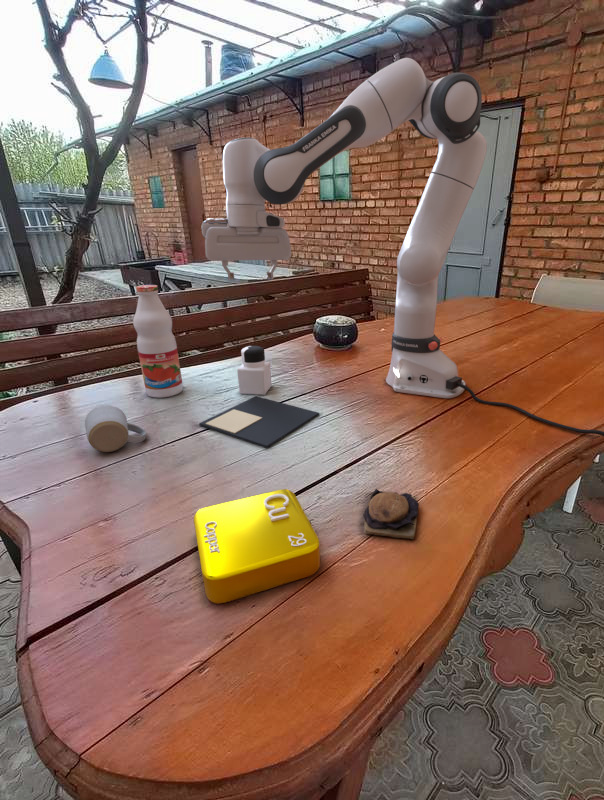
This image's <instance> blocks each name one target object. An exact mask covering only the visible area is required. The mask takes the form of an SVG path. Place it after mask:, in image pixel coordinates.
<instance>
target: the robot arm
mask: <svg viewBox="0 0 604 800" xmlns="http://www.w3.org/2000/svg"><path fill="white" fill-rule="evenodd" d="M482 96H483V95H482V89H481V86H480V84H479V82H478V81H477V79H476V78H474V77H473V76H472V75H471V74H468V73H465V72H452V73H449V74H447V75H445V76H443V77H440V78H438V79H436V80H433V81H432V80H430V79H429V78H427V77H426V74H425V72H424V70H423V68H422V66H421V65H420V64H419V63H418V62H417V61H416V60H415V59H413V58H411V57H410V58H409V57H403V58H400V59H398V60H396V61H394V62H392V63H390V64H389V65H386V66H385V67H383V68H381V69H380V70H378V71H377V72H375V73H374V74H373V75H371V76H370V77H368V78H367V79H366V80H364V81H363V82H362V83H361V84H360V85H358V86H357V87H356V88H355V89H354V90H353V91H352V92H351V93H350V94H349V95H348V96H347V97H346V98H345V99H344V100H343V101H342V102H341V103H340V105H339V106H338V107H337V108H336V109H335V110H334V111H333V113H332V114H331V115H330V116H329V117H328V118H327V119H326V120H324V121H323V122H322V123H320V124H319V125H318V126H316V127H315V128H313V130H311V131H310V132H308V133H306V134H305V135H304V136H303V137H301V138H299V140H297V141H296V142H294V143H293V144H290V145H288V146H284V147H279V148H278V147H277V148H273V149H272V148H271V149H270V148H268V147H267V146H265V145H263V144H262V143H261V142H260V141H258V139H257V138H254V137H239V138H235V139H232V140H230V141H228V142H227V143H226V144H225V146H224V148H223V152H222V173H223V174H222V175H223V184H224V187H225V190H226V200H225V208H226V209H225V211H226V218H212V217H211V218H207V219H206V220H204V221H203V222H202V223H201V235H202V237H203V238H204V239H205V241H204V243H205V244H204V248H205V258H206V259H207V260H208V261H209V262H211V261H212V262H216V261H217V262H219V261H221V264H222V265H221V266H222V268H223V270H225V273H227V280H228V281H235V272H234V271H231V270H230V268H229V267H228V266H229V261H231V262H232V261H270V265H272V266H271V268H270V270H269V271H266V279H267V280H274V272H275V270H276V269H277V267H278V261H288V260H291V259H290V258H291V257H292V247H291V241H290V236H289V233H288V232H287V230H286V229H285V228H284V227H285V225H286V224H285V223H286V222H285V219H284V218H283V217H281V216H280V215H276V214H274V213H272V212H267V211H266V201H267V202H268V203H271V204H272V205H288V204H292V203H294V202H296V201H297V200H298V199H299V197H300V196H301V195H302V193H303V191H304V188H305V182H306V181H307V179H308V178H309V177H310V176H311V175H312V174H313V173H314V172H316V171H317V170H318V169H320V168H321V167H323V166H325V164H327V163H328V162H329V161H331V160H332V159H334V158H335V157H336V156H338V155H339V154H341V153H342V152H344V151H347V150H350V149H364V148H367V147H369V146H372V145H373V144H375V143H377V142H379V141H381V140H383V139H384V138H385V137H387V136H388V135H390V134H391V133H392V132H393V131H395V130H396V129H398V128H399V127H400V126H401V125H403V124H405V123H407V122H409V123H410V124H411V125H412V126H413V127H414V128H415V130H416V131H417V132H418V133H419V134H420V135H421V136H423V137H424V138H427V139H431V140H435V139H436V140H437V143H438V150H437V156H436V160H435V162H434V164H433V167H432V169H431V172H430V174H429V177H428V179H427V182H426V184H425V187H424V189H423V191H422V194H421V197H420V199H419V202H418V205H417V206H416V207H417V208H416V210H415V212H414V214H413V217H412V220H411V222H410V224H409V226H408V229H407V232H406V235H405V237H404V240H403V243H402V244H401V248H400V249H399V253H398V255H397V258H396V268H397V269H396V270H397V277H396V293H395V305H394V307H395V308H394V321H393V323H394V325H393V333H391V334H392V335H391V359H390V364H389V369H388V373H387V375H386V377H385V382H386V384H387V385H389V386H390V387H391V388H392V389H393V391H394V392H396V393H402V394H411V395H418V396H426V397H433V398H441V399H453V398H456V397H458V396H460V395H461V394H462V393H464V391H466V392H468V393H469V394H470V396H471V397H472V399H473V400H474V401H476V402H477V403H480V404H484V405H489V406H497V407H504V408H508V409H509V408H510V409H513V410H515V411H517V412H519V413H520V414H523V415H525V416H527V417H529V418H531V419H533V420H536V421H538V422H540V423H543V424H545V425H549V426H552V427H555V428H559V429H562V430H566V431H570V432H573V433H577V434H588V435H590V434H591V435H599V436H602V437H604V431H603V430H600V429H583V428H582V429H581V428H577V427H573V426H569V425H566V424H565V425H564V424H562V423H559V422H555V421H552V420H548V419H546V418H543V417H540V416H538V415H535V414H533V413H532V412H529V411H527V410H525V409H523V408H522V407H518V406H516V405H514V404H511V403H508V402H507V403H506V402H500V401H488V400H484V399H481V398H479V397H478V396H477V395H476V394H475V392H474V391H473V390H472V389H471V388H470V387H468V386H467V385H466V382H465V380H463V377H461V376H459V369H458V366H457V363H456V362H454V361H453V360H452V359H451V358H450V357H449V356H447V354H445V353H444V351H443V350H441V349H440V348H441V343H442V342H443V337H440V338H439V337H438V336H437V335H435V327H436V317H437V316H436V315H437V306H438V287H439V286H438V285H439V274H440V273H441V270H442V269H443V268H442V267H443V265H444V262H445V260H446V258H447V255H448V253H449V250H450V248H451V246H452V243H453V240H454V238H455V235H456V232H457V229H458V227H459V224H460V222H461V219H462V217H463V215H464V213H465V211H466V208H467V206H468V204H469V201H470V199H471V197H472V195H473V192H474V190H475V188H476V185H477V183H478V181H479V178H480V175H481V171H482V169H483V166H484V162H485V158H486V155H487V150H488V143H487V140H486V138H485V136H484V135H483V134H482V133H481V132H480V131H479V128H480V125H481V111H482V104H483V97H482Z"/></svg>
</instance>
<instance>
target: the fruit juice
mask: <svg viewBox="0 0 604 800" xmlns="http://www.w3.org/2000/svg"><path fill="white" fill-rule="evenodd" d="M135 292H136V293H137V294H138V298H137V305H136V310H135V313H134V315H133V319H132V323H133V328H134V330H135V332H136V334H137V338H136V349H137V353H138V358H139V363H140V368H141V374H142V379H143V383H144V389H145V393H146V394H147V396H148V397H151V398H156V399H157V398H161V399H162V398H168V397H173V396H176V395H178V394H180V393H181V392H182V391H183V389H184V383H183V378H182V371H181V365H180V359H179V352H178V345H177V340H176V336H175V335H174V334H173V318H172V317H171V314H170V313H169V312H168V311H167V309H166V308H165V306H164V304H163V302H162V300H161V298H160V296H159V294H158V293H159V287H158V285H156V284H143V285H141V284H140V285H137V286H136V287H135Z"/></svg>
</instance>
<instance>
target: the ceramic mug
mask: <svg viewBox="0 0 604 800" xmlns="http://www.w3.org/2000/svg"><path fill="white" fill-rule="evenodd" d="M84 425H85V431H86V438H87V441H88V443H89V445H90V446H91V447H92V448H93V449H94V450H96V451H98V452H102V453H112V452H115V451H118V450H120V449H121V448H123V447H124V446H125V444H126V443H142V442H143V441H145V440H146V436H147V430H146V429H144V428H143V427H141V426H140V425H136V424H134V423H129V422H128V419H127V416H126V414H125V412H124V411H123V410H122V409H120V408H119V407H117V406H114V405H109V404H103V405H98V406H96V407H93V408H92V409H91V410H89V411H88V413H87V414H86V416H85V419H84ZM129 432H132V433H136V434H138V435H134V434H133V435H132V434H129Z"/></svg>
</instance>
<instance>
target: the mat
mask: <svg viewBox="0 0 604 800" xmlns="http://www.w3.org/2000/svg"><path fill="white" fill-rule="evenodd" d="M318 416H320V412H319V411H318V412H317V411H314V410H311V409H307V408H303V407H298V406H295V405H291V404H288V403H283V402H280V401H275V400H272V399H268V398H265V397H261V396H257V395H255V396H253V397H251V398H249V399H247V400H245V401H243V402H241V403H238V404H237V405H234V406H233V407H230V408H228V409H226V410H224V411H222V412H220V413H217V414H216V415H214V416H212V417H210V418H207V419H205V420H203V421H201V422H199V424H198V425H199V426H200V427H203V428H204V429H205V428H206V429H209V430H212V431H215V432H218V433H221V434H223V435H226V436H229V437H233V438H236V439H238V440H242V441H245V442H248V443H251V444H254V445H257V446H259V447H262V448H266V449H269V448H270V447H272V446H273V445H275V444H276V443H278V442H279V441H281V440H283V439H284V438H285V437H287V436H288V435H290V434H291V433H293V432H295V431H296V430H298V429H300V428H302V427H303V426H304V425H306V424H308V423H309V422H310V421H312V420H314V419H315V418H317V417H318Z"/></svg>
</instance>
